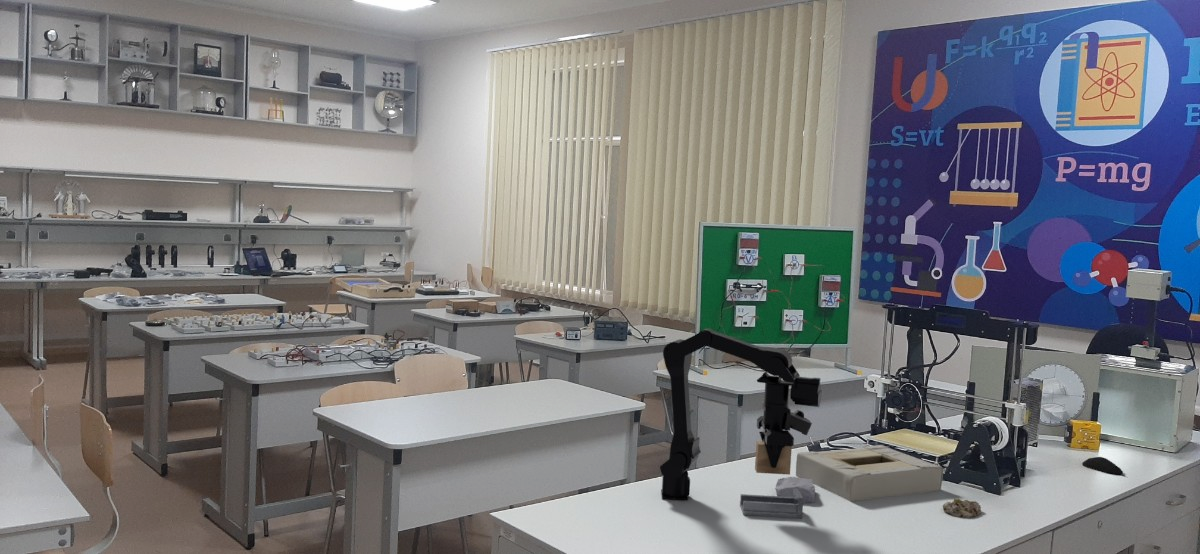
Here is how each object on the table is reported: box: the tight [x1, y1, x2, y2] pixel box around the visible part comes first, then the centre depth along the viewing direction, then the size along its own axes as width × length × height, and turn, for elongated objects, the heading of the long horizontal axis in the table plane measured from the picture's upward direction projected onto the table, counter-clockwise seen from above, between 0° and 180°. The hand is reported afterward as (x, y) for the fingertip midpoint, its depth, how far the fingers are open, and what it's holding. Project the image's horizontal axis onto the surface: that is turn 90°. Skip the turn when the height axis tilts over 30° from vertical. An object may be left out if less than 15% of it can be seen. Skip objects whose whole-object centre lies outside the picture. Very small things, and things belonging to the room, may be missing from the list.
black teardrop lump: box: [1081, 456, 1127, 478], centre depth 264 cm, size 6×15×4 cm, turn 24°
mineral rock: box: [942, 497, 982, 519], centre depth 219 cm, size 11×4×8 cm
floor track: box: [739, 489, 804, 519], centre depth 213 cm, size 14×7×5 cm, turn 88°
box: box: [795, 444, 944, 502], centre depth 240 cm, size 23×8×32 cm
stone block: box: [774, 476, 816, 504], centre depth 227 cm, size 12×5×10 cm
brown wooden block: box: [754, 440, 793, 475], centre depth 212 cm, size 8×3×7 cm, turn 88°
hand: (772, 465), depth 212 cm, fingers closed on brown wooden block, 3 cm apart
